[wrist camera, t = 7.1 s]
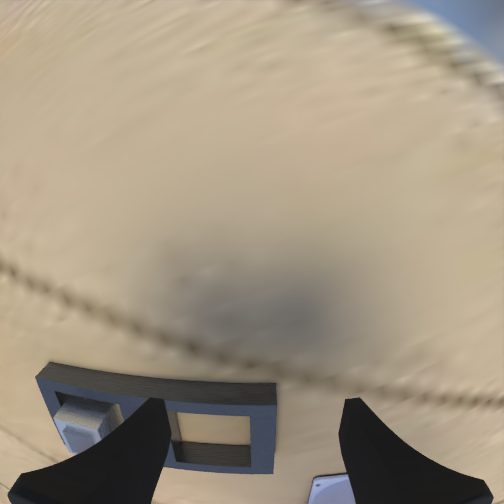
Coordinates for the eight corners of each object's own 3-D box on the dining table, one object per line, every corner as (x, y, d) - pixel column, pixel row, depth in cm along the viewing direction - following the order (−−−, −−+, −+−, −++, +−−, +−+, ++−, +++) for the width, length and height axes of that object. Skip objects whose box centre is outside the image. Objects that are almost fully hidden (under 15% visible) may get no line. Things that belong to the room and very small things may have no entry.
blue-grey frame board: (272, 452, 24) (273, 474, 21) (75, 428, 24) (64, 444, 22) (275, 383, 22) (276, 405, 19) (49, 362, 22) (35, 377, 20)
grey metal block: (130, 424, 24) (110, 467, 18) (91, 416, 24) (67, 455, 19) (120, 390, 23) (95, 433, 17) (80, 382, 23) (50, 421, 18)
